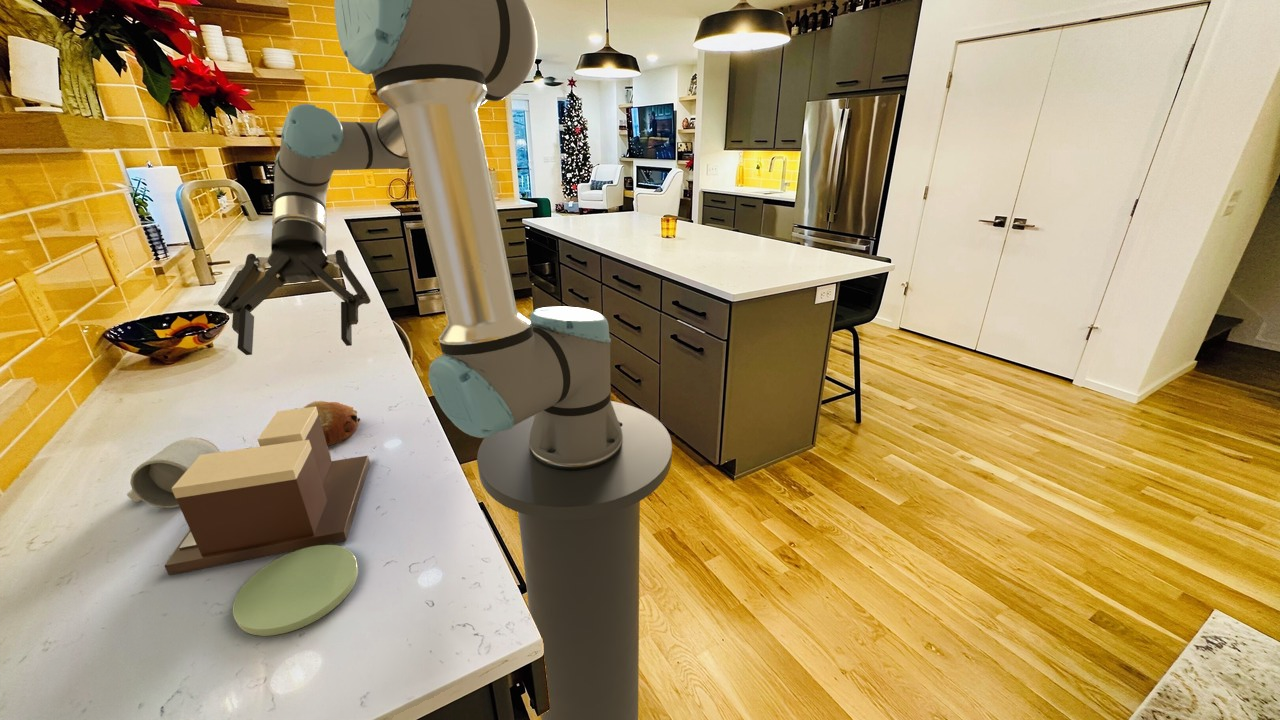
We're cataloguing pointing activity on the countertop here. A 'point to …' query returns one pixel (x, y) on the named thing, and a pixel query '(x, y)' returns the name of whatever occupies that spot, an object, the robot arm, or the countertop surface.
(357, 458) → the cake board
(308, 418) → the cake slice
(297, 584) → the plate
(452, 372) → the robot arm
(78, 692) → the countertop surface
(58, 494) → the countertop surface
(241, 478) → the cake
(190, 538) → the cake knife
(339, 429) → the bread roll
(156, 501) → the ceramic mug
